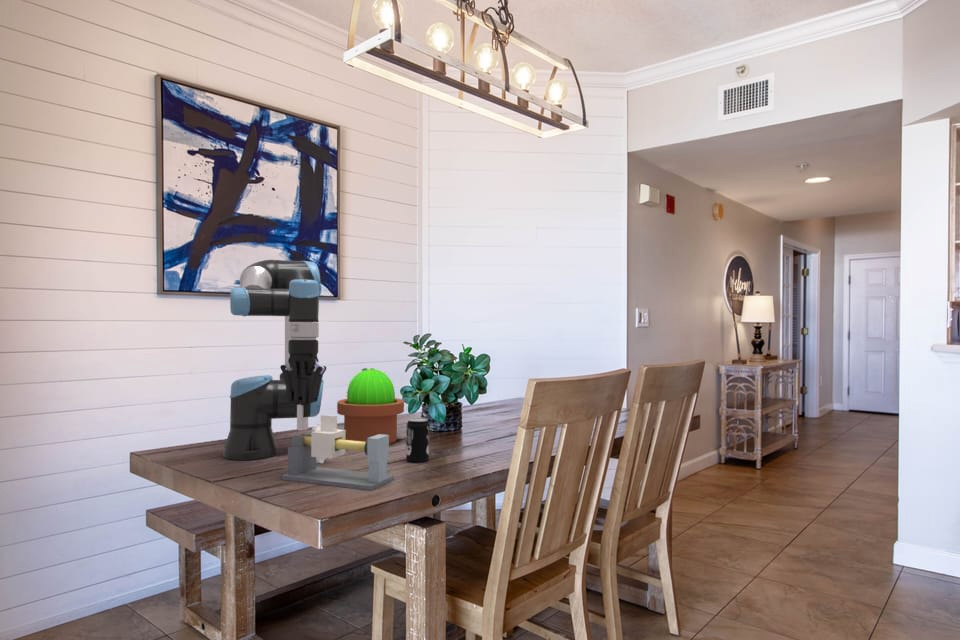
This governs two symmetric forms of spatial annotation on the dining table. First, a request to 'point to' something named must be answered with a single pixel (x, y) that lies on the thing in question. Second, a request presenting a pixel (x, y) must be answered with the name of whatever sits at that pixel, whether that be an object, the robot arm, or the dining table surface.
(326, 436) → the sleeve
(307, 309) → the robot arm
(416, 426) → the beverage can
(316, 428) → the figurine
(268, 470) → the dining table surface
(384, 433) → the potted cactus
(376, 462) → the grey rod stand
